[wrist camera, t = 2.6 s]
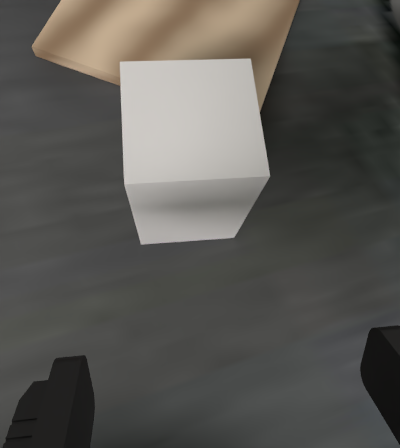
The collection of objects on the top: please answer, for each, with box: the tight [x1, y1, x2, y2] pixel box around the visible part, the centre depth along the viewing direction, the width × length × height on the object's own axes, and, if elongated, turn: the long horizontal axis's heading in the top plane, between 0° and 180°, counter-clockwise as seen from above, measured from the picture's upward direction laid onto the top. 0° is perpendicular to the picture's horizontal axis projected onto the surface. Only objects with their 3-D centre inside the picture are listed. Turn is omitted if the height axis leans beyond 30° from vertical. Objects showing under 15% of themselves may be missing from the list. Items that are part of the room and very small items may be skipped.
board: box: [32, 0, 300, 112], centre depth 32 cm, size 18×18×1 cm
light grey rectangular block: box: [120, 59, 270, 244], centre depth 22 cm, size 6×6×10 cm
